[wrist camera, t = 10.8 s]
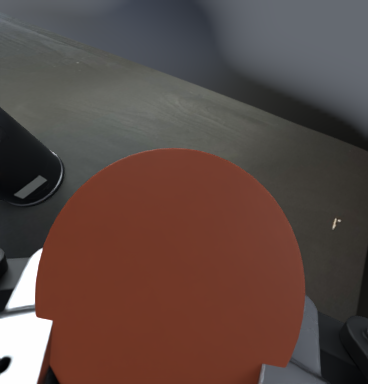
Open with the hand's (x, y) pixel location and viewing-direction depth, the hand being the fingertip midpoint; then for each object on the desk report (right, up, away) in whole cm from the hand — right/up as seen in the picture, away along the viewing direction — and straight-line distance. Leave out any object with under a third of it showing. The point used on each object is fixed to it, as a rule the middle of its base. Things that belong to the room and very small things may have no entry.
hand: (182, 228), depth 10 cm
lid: (0, 0, -6) cm, 6 cm away
